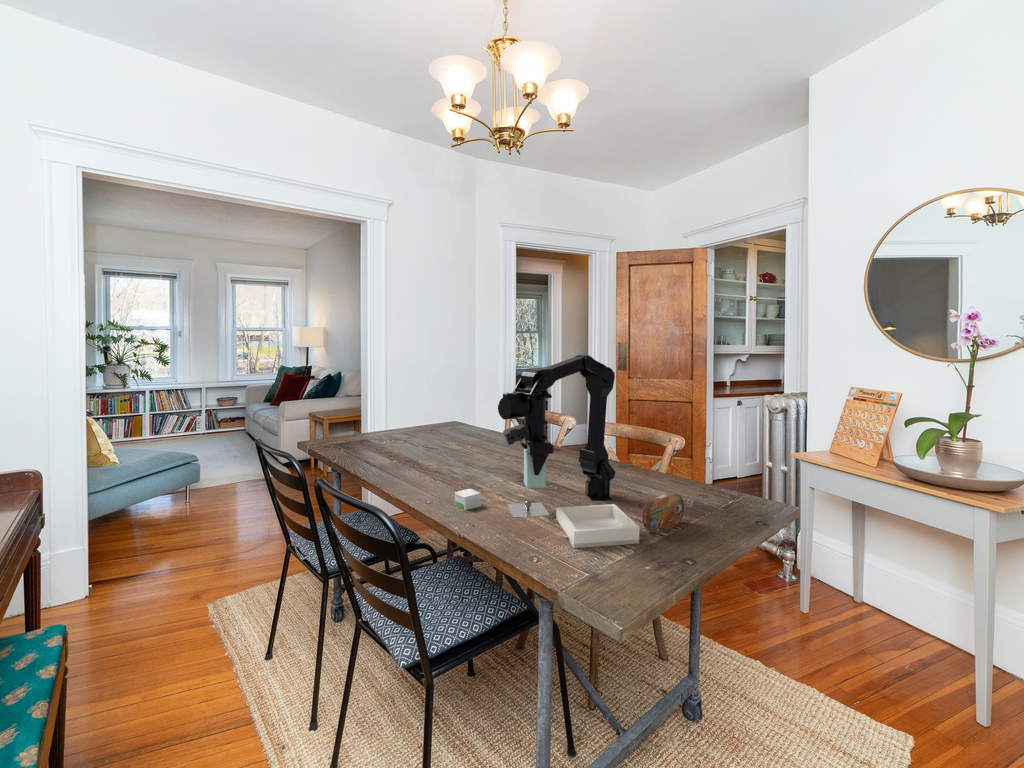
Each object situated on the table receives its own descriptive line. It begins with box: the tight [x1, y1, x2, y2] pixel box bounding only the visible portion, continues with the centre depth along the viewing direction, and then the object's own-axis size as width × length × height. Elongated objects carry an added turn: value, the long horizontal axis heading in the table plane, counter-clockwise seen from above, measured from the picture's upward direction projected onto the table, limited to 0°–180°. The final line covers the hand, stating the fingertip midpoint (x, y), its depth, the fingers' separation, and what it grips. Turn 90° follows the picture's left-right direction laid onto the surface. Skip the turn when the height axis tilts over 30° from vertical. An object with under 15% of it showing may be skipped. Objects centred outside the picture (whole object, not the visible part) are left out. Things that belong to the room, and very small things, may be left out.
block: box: [523, 448, 547, 489], centre depth 133 cm, size 5×5×10 cm
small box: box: [454, 488, 482, 511], centre depth 139 cm, size 6×6×5 cm
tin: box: [642, 492, 685, 534], centre depth 125 cm, size 15×3×8 cm, turn 129°
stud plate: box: [507, 500, 550, 518], centre depth 136 cm, size 10×10×4 cm
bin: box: [555, 503, 640, 549], centre depth 122 cm, size 16×16×4 cm
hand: (534, 472), depth 133 cm, fingers closed on block, 5 cm apart
